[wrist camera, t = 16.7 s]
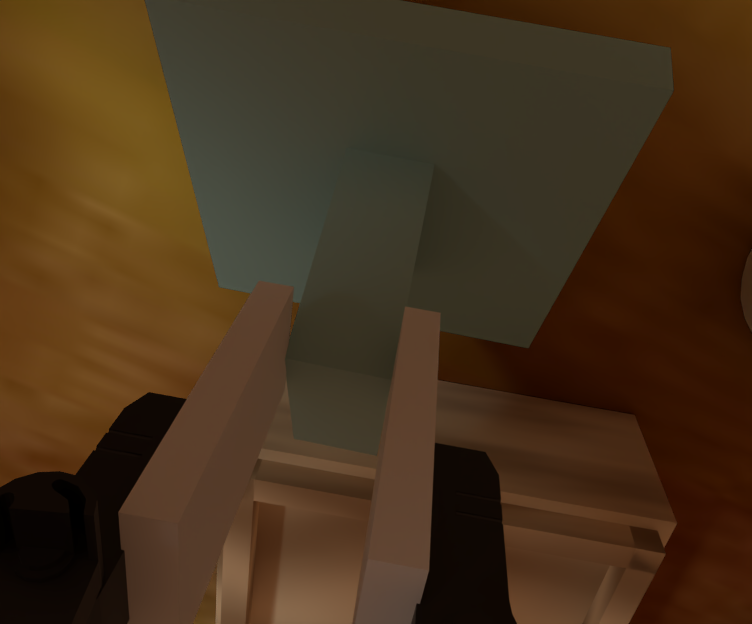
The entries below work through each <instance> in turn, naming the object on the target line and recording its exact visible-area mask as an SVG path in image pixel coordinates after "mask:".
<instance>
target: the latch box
mask: <svg viewBox="0 0 752 624" xmlns="http://www.w3.org/2000/svg"><path fill="white" fill-rule="evenodd" d="M383 424H384V423H383ZM382 430H383V428H382ZM381 437H382V433H381ZM380 443H381V438H380ZM380 443H379V448H378V453H377V456H375V455H370V454H365V453H360V452H356V451H351V450H346V449H341V448H336V447H332V446H327V445H322V444H317V443H312V442H308V441H303V440H298V439H294V436H293V428H292V420H291V413H290V405H289V397H288V389H287V381H285V391H284V393H283V396H282V398H281V401H280V403H279V406H278V408H277V411H276V413H275V416H274V419H273V421H272V424H271V426H270V429H269V431H268V434H267V436H266V439H265V441H264V444H263V446H262V449H261V452H260V454H259V457H258V459H257V462H256V464H255V467H254V469H253V472H252V474H251V477H250V479H249V482H248V485H247V487H246V490H245V492H244V495H243V497H242V500H241V502H240V505H239V507H238V510H237V512H236V515H235V518H234V520H233V523H232V525H231V528H230V530H229V533H228V535H227V538H226V540H225V543H224V545H223V548H222V551H221V553H220V556H219V558H218V561H217V593H216V624H352V622H353V616H354V609H355V603H356V597H357V590H358V584H359V577H360V571H361V565H362V558H363V552H364V545H365V539H366V533H367V526H368V520H369V514H370V507H371V501H372V494H373V488H374V482H375V475H376V469H377V462H378V456H379V450H380ZM435 443H440V444H445V445H451V446H456V447H462V448H467V449H473V450H478V451H483V452H486V454H487V455H488V457H489V459H490V460H491V462H492V464H493V465H494V467H495V469H496V471H497V472H498V474H499V480H500V492H501V502H500V504H501V505H502V517H503V520H502V524H503V529H504V541H505V553H506V566H507V578H508V590H509V601H510V605H511V610H512V614H513V616H514V618H515V620H516V622H517V624H629V622H630V620H631V618H632V616H633V615H634V613H635V611H636V609H637V607H638V605H639V603H640V601H641V600H642V598H643V596H644V594H645V592H646V590H647V588H648V586H649V585H650V583H651V581H652V579H653V577H654V575H655V573H656V572H657V570H658V568H659V566H660V564H661V562H662V560H663V558H664V557H665V555H666V553H665V550H664V547H665V545H666V544H667V542H668V540H669V538H670V536H671V534H672V532H673V530H674V528H675V527H676V525H677V521H676V519H675V516H674V514H673V511H672V509H671V506H670V504H669V501H668V498H667V496H666V493H665V491H664V488H663V486H662V483H661V481H660V478H659V476H658V473H657V471H656V468H655V466H654V463H653V460H652V458H651V455H650V453H649V450H648V448H647V445H646V443H645V440H644V438H643V435H642V433H641V430H640V427H639V425H638V422H637V420H636V417H635V415H632V414H627V413H621V412H616V411H610V410H604V409H599V408H593V407H587V406H582V405H576V404H570V403H565V402H559V401H553V400H548V399H542V398H536V397H531V396H525V395H520V394H514V393H508V392H503V391H497V390H491V389H486V388H480V387H474V386H469V385H463V384H457V383H452V382H446V381H440V380H438V381H437V403H436V426H435Z"/></svg>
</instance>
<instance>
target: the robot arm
mask: <svg viewBox="0 0 752 624" xmlns="http://www.w3.org/2000/svg"><path fill="white" fill-rule="evenodd" d="M293 292H294V287H292V286H287V285H281V284H275V283H270V282H264V281H258V283H257V285H256V286H255V288H254V289H253V291H252V293H251V294H250V296H249V298H248V299H247V301H246V303H245V304H244V306H243V308H242V309H241V311H240V313H239V314H238V316H237V317H236V319H235V321H234V322H233V324H232V326H231V327H230V329H229V331H228V332H227V334H226V336H225V337H224V339H223V341H222V342H221V344H220V345H219V347H218V349H217V350H216V352H215V354H214V355H213V357H212V359H211V360H210V362H209V364H208V365H207V367H206V369H205V370H204V372H203V373H202V375H201V377H200V378H199V380H198V382H197V383H196V385H195V387H194V388H193V390H192V392H191V393H190V395H189V397H188V398H187V399H183V398H178V397H172V396H167V395H161V394H156V393H150V392H149V393H147V394H146V395H144V396H142V397H141V398H139V399H138V400H136V401H135V402H133V403H132V404H130V405H128V406H127V407H125V408H124V409H123V411H122V412H121V413H120V415H119V416H118V418H117V419H116V420H115V422H114V423H113V424H112V426H111V427H110V428H109V432H108V433H106V434H105V435H104V437H103V438H102V439H101V441H100V442H99V443H98V445H97V448H96V450H95V451H94V450H93V452H92V453H91V454H90V456H89V457H88V458H87V460H86V461H85V463H84V464H83V465H82V467H81V468H80V469H79V471H78V472H77V473H76V475H72V474H68V473H64V472H60V471H59V472H38V473H34V474H31V475H27V476H24V477H20V478H17V479H14V480H12V481H11V482H9V483H7V484H5V485H4V486H2V487H0V624H193V622H194V619H195V617H196V614H197V611H198V609H199V606H200V604H201V601H202V599H203V596H204V594H205V591H206V589H207V586H208V584H209V581H210V578H211V576H212V573H213V571H214V568H215V566H216V563H217V561H218V558H219V556H220V553H221V551H222V548H223V545H224V543H225V540H226V538H227V535H228V533H229V530H230V528H231V525H232V523H233V520H234V518H235V515H236V512H237V510H238V507H239V505H240V502H241V500H242V497H243V495H244V492H245V490H246V487H247V485H248V482H249V479H250V477H251V474H252V472H253V469H254V467H255V464H256V462H257V459H258V457H259V454H260V452H261V449H262V446H263V444H264V441H265V439H266V436H267V434H268V431H269V429H270V426H271V424H272V421H273V419H274V416H275V413H276V411H277V408H278V406H279V403H280V401H281V398H282V396H283V393H284V391H285V381H286V365H285V356H286V352H287V348H288V345H289V337H290V325H291V314H292V303H293ZM440 314H441V313H439V312H433V311H428V310H422V309H416V308H411V307H405V310H404V315H403V320H402V326H401V331H400V336H399V342H398V347H397V352H396V358H395V363H394V369H393V375H392V381H391V385H390V390H389V395H388V400H387V405H386V411H385V418H384V424H383V430H382V437H381V443H380V450H379V456H378V462H377V469H376V475H375V482H374V488H373V494H372V501H371V507H370V514H369V520H368V526H367V533H366V539H365V545H364V552H363V558H362V565H361V571H360V577H359V584H358V590H357V597H356V603H355V609H354V616H353V622H352V624H517V622H516V620H515V618H514V616H513V614H512V610H511V605H510V601H509V590H508V578H507V566H506V553H505V541H504V529H503V524H502V520H503V517H502V505H501V504H500V502H501V492H500V480H499V474H498V472H497V471H496V469H495V467H494V465H493V464H492V462H491V460H490V459H489V457H488V455H487V454H486V452H483V451H478V450H473V449H467V448H462V447H456V446H451V445H445V444H440V443H435V426H436V403H437V381H438V359H439V336H440Z"/></svg>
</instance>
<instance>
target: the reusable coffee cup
mask: <svg viewBox="0 0 752 624" xmlns="http://www.w3.org/2000/svg"><path fill="white" fill-rule="evenodd" d="M741 303H742V308H743V313H744V318H745V320H746V322H747V324H748V326H749V328H750V330H751V332H752V249H751V251H750V253H749V255H748V257H747V261H746V265H745V268H744V272H743V275H742V280H741Z"/></svg>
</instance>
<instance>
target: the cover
mask: <svg viewBox="0 0 752 624" xmlns="http://www.w3.org/2000/svg"><path fill="white" fill-rule="evenodd" d="M145 3H146V7H147V11H148V15H149V19H150V22H151V26H152V30H153V34H154V38H155V42H156V45H157V49H158V53H159V57H160V61H161V65H162V69H163V72H164V76H165V80H166V84H167V88H168V92H169V96H170V99H171V103H172V107H173V111H174V115H175V119H176V123H177V126H178V130H179V134H180V138H181V142H182V146H183V150H184V153H185V157H186V161H187V165H188V169H189V173H190V177H191V180H192V184H193V188H194V192H195V196H196V200H197V203H198V207H199V211H200V215H201V219H202V223H203V227H204V230H205V234H206V238H207V242H208V246H209V250H210V254H211V257H212V261H213V265H214V269H215V273H216V277H217V281H218V284H219V287H221V288H226V289H232V290H237V291H242V292H247V293H252V291H253V289H254V288H255V286H256V285H257V283H258V281H264V282H270V283H275V284H281V285H287V286H292V287H294V292H293V302H297V303H300V305H299V309H298V312H297V315H296V319H295V322H294V325H293V329H292V332H291V335H290V339H289V345H288V348H287V352H286V356H285V365H286V381H287V389H288V397H289V405H290V413H291V420H292V428H293V436H294V439H298V440H303V441H308V442H312V443H317V444H322V445H327V446H332V447H336V448H341V449H346V450H351V451H356V452H360V453H365V454H370V455H375V456H377V453H378V448H379V443H380V438H381V433H382V428H383V423H384V418H385V411H386V405H387V400H388V395H389V390H390V385H391V381H392V375H393V369H394V363H395V358H396V352H397V347H398V342H399V336H400V331H401V326H402V320H403V315H404V310H405V307H411V308H416V309H422V310H428V311H433V312H439V313H441V314H440V331H443V332H448V333H453V334H458V335H463V336H468V337H473V338H478V339H483V340H488V341H493V342H498V343H503V344H508V345H514V346H519V347H524V348H529V346H530V344H531V343H532V341H533V339H534V337H535V336H536V334H537V332H538V330H539V328H540V327H541V325H542V323H543V321H544V320H545V318H546V316H547V314H548V313H549V311H550V309H551V307H552V305H553V304H554V302H555V300H556V298H557V297H558V295H559V293H560V291H561V290H562V288H563V286H564V284H565V282H566V281H567V279H568V277H569V275H570V274H571V272H572V270H573V268H574V267H575V265H576V263H577V261H578V259H579V258H580V256H581V254H582V252H583V251H584V249H585V247H586V245H587V244H588V242H589V240H590V238H591V236H592V235H593V233H594V231H595V229H596V228H597V226H598V224H599V222H600V221H601V219H602V217H603V215H604V213H605V212H606V210H607V208H608V206H609V205H610V203H611V201H612V199H613V198H614V196H615V194H616V192H617V190H618V189H619V187H620V185H621V183H622V182H623V180H624V178H625V176H626V175H627V173H628V171H629V169H630V167H631V166H632V164H633V162H634V160H635V159H636V157H637V155H638V153H639V152H640V150H641V148H642V146H643V144H644V143H645V141H646V139H647V137H648V136H649V134H650V132H651V130H652V128H653V127H654V125H655V123H656V121H657V120H658V118H659V116H660V114H661V113H662V111H663V109H664V107H665V105H666V104H667V102H668V100H669V98H670V97H671V95H672V93H673V91H674V85H673V72H672V59H671V48H669V47H663V46H657V45H652V44H646V43H640V42H635V41H629V40H623V39H618V38H612V37H606V36H601V35H595V34H589V33H583V32H578V31H572V30H566V29H561V28H555V27H549V26H544V25H538V24H532V23H527V22H521V21H515V20H510V19H504V18H498V17H493V16H487V15H481V14H476V13H470V12H464V11H459V10H453V9H447V8H442V7H436V6H430V5H425V4H419V3H413V2H408V1H402V0H145Z"/></svg>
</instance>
